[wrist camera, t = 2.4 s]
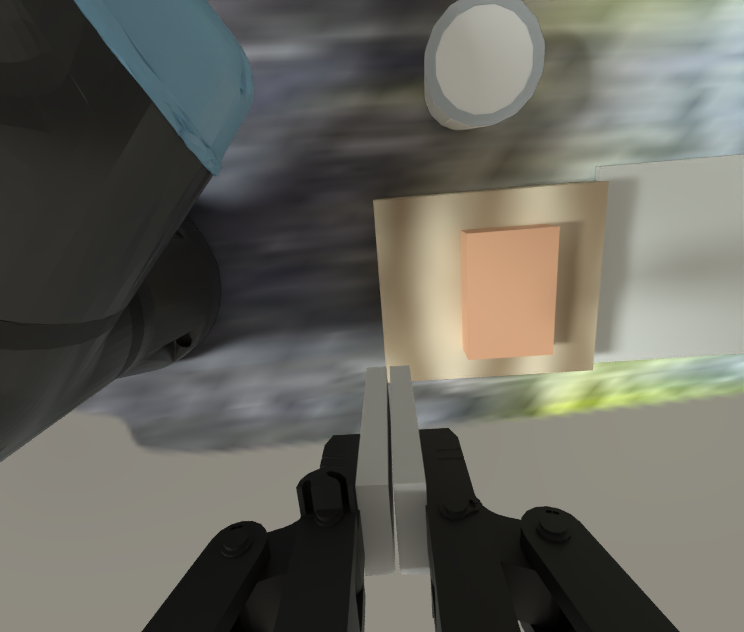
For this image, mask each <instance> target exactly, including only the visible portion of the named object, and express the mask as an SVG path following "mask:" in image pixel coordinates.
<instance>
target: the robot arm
mask: <svg viewBox="0 0 744 632" xmlns="http://www.w3.org/2000/svg"><path fill="white" fill-rule="evenodd" d="M253 97H254V77H253V73H252V69H251V66H250V64H249V61H248V58H247V56H246V54H245V52H244V51H243V49H242V47H241V46H240V44H239V43H238V41H237V40H236V38H235V37H234V35H233V34H232V33H231V31H230V30H229V29H228V28H227V26H226V25H225V24H224V22H223V21H222V20H221V18H220V17H219V16H218V15H217V13H216V12H215V11H214V9H213V8H212V7H211V6H210V4H209V3H208V2H207V1H206V0H0V462H2V461H3V460H4V459H6V458H7V457H8V456H10V455H11V454H13V453H14V452H15V451H17V450H18V449H20V448H21V447H22V446H24V445H25V444H26V443H28V442H29V441H31V440H32V439H33V438H35V437H36V436H38V435H39V434H40V433H42V432H43V431H44V430H46V429H47V428H49V427H50V426H51V425H53V424H54V423H55V422H57V421H58V420H60V419H61V418H63V417H64V416H65V415H67V414H68V413H69V412H71V411H72V410H74V409H75V408H76V407H78V406H79V405H81V404H82V403H83V402H85V401H86V400H87V399H89V398H90V397H92V396H93V395H94V394H96V393H97V392H99V391H100V390H101V389H103V388H104V387H105V386H107V385H108V384H109V383H111V382H112V381H114V380H115V379H118V378H122V377H127V376H132V375H136V374H141V373H145V372H150V371H154V370H158V369H161V368H164V367H166V366H168V365H170V364H172V363H174V362H176V361H178V360H179V359H181V358H182V357H184V356H185V355H186V354H188V353H189V352H190V351H191V350H192V349H194V348H195V347H196V346H197V345H198V344H199V343H200V342H201V341H202V340H203V339H204V338H205V337H206V335H207V334H208V333H209V331H210V329H211V328H212V326H213V324H214V322H215V319H216V316H217V313H218V309H219V305H220V295H221V287H220V278H219V272H218V268H217V265H216V262H215V259H214V256H213V254H212V252H211V250H210V248H209V246H208V244H207V242H206V241H205V239H204V238H203V236H202V235H201V233H200V232H199V231H198V229H197V228H196V227H195V226H194V225H193V224H192V222H191V221H190V220H189V219H188V218H187V217H186V216H187V214H188V213H189V211H190V210H191V208H192V207H193V205H194V204H195V202H196V201H197V199H198V198H199V196H200V194H201V193H202V191H203V190H204V188H205V187H206V185H207V184H208V182H209V181H210V179H211V178H212V176H213V175H214V176H218V174H219V173H220V171H221V168H222V166H221V160H222V158H223V156H224V154H225V152H226V150H227V149H228V147H229V145H230V143H231V142H232V140H233V138H234V136H235V135H236V133H237V131H238V129H239V128H240V126H241V124H242V122H243V121H244V119H245V117H246V115H247V113H248V112H249V110H250V108H251V105H252V102H253ZM390 395H391V419H390V406H389V393H388V380H387V367H373V368H367V371H366V382H365V392H364V402H363V413H362V423H361V433H360V434H350V435H333V436H332V438H331V439H330V440H329V441H328V442H327V443H326V445H325V447H324V451H323V455H322V460H321V464H320V469H318V470H315V471H313V472H311V473H309V474H307V475H306V476H305V477H304V478H302V479H301V480H300V482H299V484H298V485H297V487H296V489H297V494H298V501H299V507H300V513H301V518H300V519H299V520H298V521H296V522H294V523H293V524H291V525H289V526H286V527H284V528H281V529H277V530H274V531H271V532H268V533H267V532H266V529H265V528H264V527H263V526H262V525H261V524H259V523H256V522H253V521H242V522H238V523H235V524H232V525H230V526H228V527H226V528H225V529H223V530H221V531H220V532H219V533H218V534H217V535H216V536H215V537H214V538H213V539H212V540H211V541H210V543H209V544H208V545H207V546H206V548H205V549H204V550H203V552H202V553H201V554H200V556H199V557H198V558H197V560H196V561H195V562H194V564H193V565H192V566H191V567H190V569H189V570H188V572H187V573H186V574H185V576H184V577H183V578H182V579H181V581H180V582H179V583H178V585H177V586H176V587H175V589H174V590H173V591H172V592H171V594H170V595H169V596H168V598H167V599H166V600H165V602H164V603H163V604H162V606H161V607H160V608H159V610H158V611H157V612H156V613H155V615H154V616H153V618H152V619H151V620H150V621H149V623H148V624H147V625H146V627H145V628H144V629H143V631H142V632H364V623H365V588H364V568H365V575H366V576H372V575H395V544H394V543H395V542H394V509H393V508H394V507H393V489H394V501H395V514H396V525H397V538H398V551H399V565H400V574H426V573H430V576H431V594H432V613H433V618H434V623H435V632H521V631H520V627H519V624H518V620H519V621H520V623H521V626H522V628H523V629H524V631H525V632H679V631H678V629H677V628H676V627H675V626H674V625H673V624H672V623H671V622H670V621H669V619H668V618H667V617H666V616H665V615H664V614H663V613H662V612H661V611H660V610H659V608H658V607H657V606H656V605H655V604H654V603H653V602H652V601H651V600H650V598H649V597H648V596H647V595H646V594H645V593H644V592H643V591H642V590H641V589H640V588H639V587H638V585H637V584H636V583H635V582H634V581H633V580H632V579H631V578H630V576H629V575H628V574H627V573H626V572H625V571H624V570H623V569H622V568H621V566H620V565H619V564H618V563H617V562H616V561H615V560H614V559H613V558H612V557H611V556H610V554H609V553H608V552H607V551H606V550H605V549H604V548H603V547H602V545H601V544H599V542H598V541H597V540H596V539H595V538H594V537H593V536H592V535H591V533H590V532H589V531H588V530H587V529H586V528H585V527H584V526H583V524H581V522H580V521H578V520H577V519H576V518H575V517H573V516H572V515H571V514H569V513H567V512H565V511H563V510H561V509H557V508H552V507H548V506H544V507H535V508H533V509H530V510H528V511H526V513H525V514H524V515H523V517H522V519H521V520H519V519H514V518H509V517H505V516H502V515H498V514H496V513H494V512H491V511H490V510H488V509H487V508H485V507H484V506H483V505H482V503H481V502H480V500H479V499H478V498H476V496H475V494H474V490H473V487H472V484H471V480H470V477H469V473H468V470H467V467H466V463H465V460H464V456H463V453H462V450H461V446H460V443H459V440H458V437H457V436H456V435H455V434H454V433H453V432H452V431H451V430H450V429H449V428H439V429H421V430H418V423H417V416H416V409H415V401H414V394H413V387H412V380H411V373H410V366H409V365H405V366H390ZM391 429H392V437H391ZM392 463H393V472H392Z"/></svg>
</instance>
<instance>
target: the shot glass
mask: <svg viewBox="0 0 744 632" xmlns="http://www.w3.org/2000/svg"><path fill="white" fill-rule="evenodd" d="M544 52H545V41H544V38H543V35H542V32H541V29H540V26H539V23H538V20H537V17H536V16H535V15H534V14H533V13H532V12H531V11H530V10H529V8H528V7H527V6H526V5H525V4H524V3H523V2H522V1H521V0H458V1H457V2H455V3H453V4H451V5H450V6H449V7H448V9H447V10H446V11H445V12H444V14H443V15H442V16H441V17H440V19H439V20H438V21H437V22H436V24H435V25H434V26H433V29H432V32H431V35H430V38H429V41H428V44H427V47H426V50H425V55H424V94H425V102H426V105H427V107H428V109H429V112H430V114H431V116H432V117H434V118H435V119H436V120H437V121H438V122H439V123H440V124H441V125H442V126H445V127H447V128H450V129H453V130H467V129H474V128H480V127H486V126H491V125H495V124H497V123H499V122H501V121H503V120H505V119H507V118H509V117H511V116H513V115H515V114H516V113H517V112H518V111H519V110H520V109H521V108H522V107H523V106H524V104H525V103H526V102H527V101H528V100H529V99H530V98H531V97H532V96H533V94H534V92H535V89H536V87H537V84H538V82H539V80H540V77H541V75H542V72H543V70H544Z"/></svg>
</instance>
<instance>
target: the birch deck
mask: <svg viewBox="0 0 744 632" xmlns="http://www.w3.org/2000/svg"><path fill="white" fill-rule="evenodd" d="M608 186H609V181H595V182H574V183H562V184H550V185H538V186H526V187H514V188H502V189H490V190H478V191H467V192H455V193H443V194H431V195H419V196H407V197H395V198H383V199H374V200H373V206H374V219H375V231H376V244H377V257H378V270H379V283H380V296H381V309H382V322H383V335H384V348H385V360H386V367H387V380H388V383H389V382H390V366H405V365H409V366H410V373H411V380H412V381H421V380H438V379H454V378H471V377H487V376H504V375H520V374H537V373H553V372H570V371H586V370H593V361H594V350H595V338H596V326H597V315H598V303H599V291H600V279H601V268H602V256H603V244H604V233H605V221H606V209H607V197H608ZM535 224H551V225H556V226H560V232H559V251H558V270H557V289H556V307H555V326H554V345H553V355H540V356H524V357H508V358H492V359H476V360H468V359H467V357H466V355H465V353H464V350H463V344H462V285H461V230H471V229H484V228H497V227H509V226H522V225H535Z"/></svg>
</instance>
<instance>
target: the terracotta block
mask: <svg viewBox="0 0 744 632" xmlns="http://www.w3.org/2000/svg"><path fill="white" fill-rule="evenodd" d="M559 232H560V226H556V225H551V224H535V225H522V226H509V227H497V228H484V229H471V230H461V285H462V344H463V350H464V353H465V355H466V357H467V359H468V360H476V359H492V358H508V357H524V356H540V355H553V345H554V326H555V307H556V289H557V270H558V251H559Z"/></svg>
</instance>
